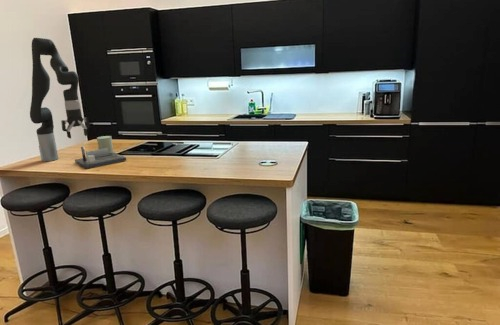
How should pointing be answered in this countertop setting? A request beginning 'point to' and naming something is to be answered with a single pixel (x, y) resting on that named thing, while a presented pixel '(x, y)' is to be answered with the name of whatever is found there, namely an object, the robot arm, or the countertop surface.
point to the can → (105, 143)
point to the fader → (91, 158)
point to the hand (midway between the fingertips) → (77, 137)
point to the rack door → (98, 152)
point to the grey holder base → (99, 160)
